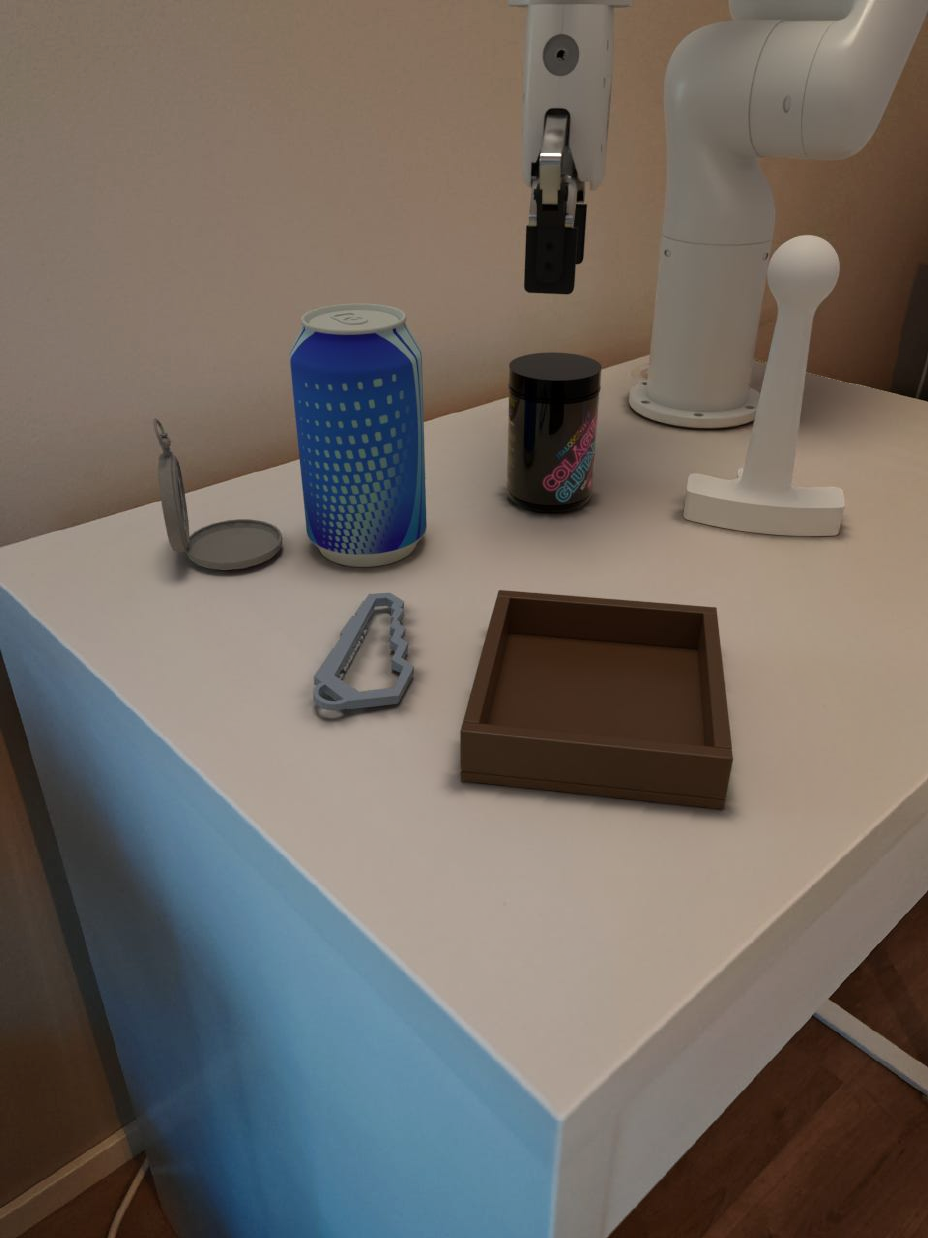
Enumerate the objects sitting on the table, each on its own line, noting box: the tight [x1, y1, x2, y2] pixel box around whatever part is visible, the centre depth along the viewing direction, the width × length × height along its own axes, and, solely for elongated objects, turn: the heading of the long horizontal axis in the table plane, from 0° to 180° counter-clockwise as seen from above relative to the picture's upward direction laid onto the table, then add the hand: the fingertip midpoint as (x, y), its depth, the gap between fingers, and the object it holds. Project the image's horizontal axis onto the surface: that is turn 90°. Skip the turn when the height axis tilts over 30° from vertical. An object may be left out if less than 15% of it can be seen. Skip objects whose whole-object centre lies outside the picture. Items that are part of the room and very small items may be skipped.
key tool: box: [312, 592, 415, 712], centre depth 56 cm, size 12×1×5 cm
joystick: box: [682, 234, 846, 537], centre depth 68 cm, size 11×8×20 cm
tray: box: [459, 589, 734, 810], centre depth 51 cm, size 14×13×3 cm
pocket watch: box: [153, 418, 283, 571], centre depth 65 cm, size 8×8×10 cm
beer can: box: [289, 302, 427, 568], centre depth 64 cm, size 8×8×16 cm
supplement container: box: [506, 352, 603, 514], centre depth 73 cm, size 7×7×10 cm
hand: (555, 276), depth 66 cm, fingers open, 9 cm apart
